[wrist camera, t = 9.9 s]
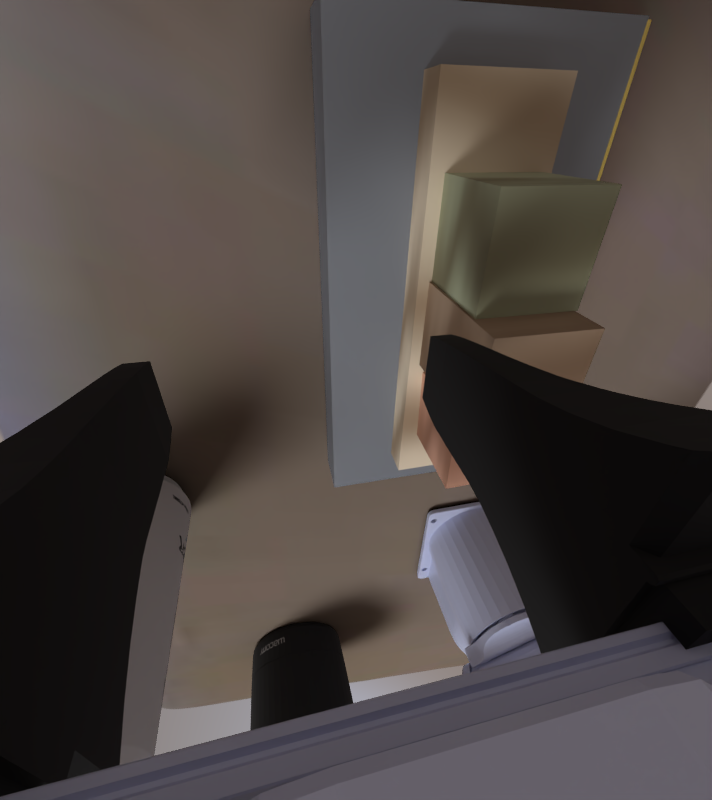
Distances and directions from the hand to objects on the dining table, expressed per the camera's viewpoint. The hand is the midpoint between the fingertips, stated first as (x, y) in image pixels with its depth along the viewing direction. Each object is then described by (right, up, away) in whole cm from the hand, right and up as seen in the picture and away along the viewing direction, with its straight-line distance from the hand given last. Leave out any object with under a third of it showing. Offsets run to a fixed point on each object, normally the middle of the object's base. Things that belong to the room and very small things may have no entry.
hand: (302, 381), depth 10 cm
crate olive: (+7, +6, +5) cm, 11 cm away
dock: (+6, +5, +11) cm, 13 cm away
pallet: (+6, +4, +9) cm, 11 cm away
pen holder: (-5, -25, +30) cm, 40 cm away
